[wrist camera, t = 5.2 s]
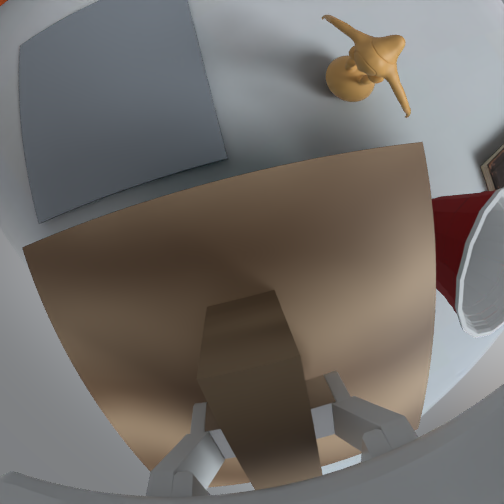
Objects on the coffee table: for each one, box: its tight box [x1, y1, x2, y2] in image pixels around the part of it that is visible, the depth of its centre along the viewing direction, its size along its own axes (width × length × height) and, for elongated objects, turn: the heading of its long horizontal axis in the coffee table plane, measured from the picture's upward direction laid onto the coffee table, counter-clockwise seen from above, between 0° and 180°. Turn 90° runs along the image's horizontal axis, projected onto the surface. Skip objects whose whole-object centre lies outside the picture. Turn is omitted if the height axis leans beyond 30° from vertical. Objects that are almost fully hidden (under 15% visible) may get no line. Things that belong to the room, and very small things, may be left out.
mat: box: [19, 0, 227, 223], centre depth 19 cm, size 20×18×1 cm
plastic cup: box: [432, 187, 504, 338], centre depth 19 cm, size 11×11×12 cm
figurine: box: [322, 15, 411, 118], centre depth 15 cm, size 8×6×12 cm
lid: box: [22, 142, 436, 490], centre depth 10 cm, size 16×16×5 cm
